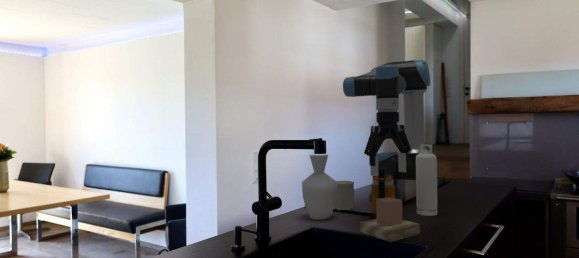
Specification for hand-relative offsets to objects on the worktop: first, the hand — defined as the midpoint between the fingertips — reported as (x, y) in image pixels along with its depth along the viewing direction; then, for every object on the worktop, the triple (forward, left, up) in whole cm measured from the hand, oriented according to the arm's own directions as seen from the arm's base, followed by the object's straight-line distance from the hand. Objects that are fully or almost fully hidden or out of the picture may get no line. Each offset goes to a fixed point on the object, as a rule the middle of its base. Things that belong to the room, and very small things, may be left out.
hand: (388, 173), depth 134 cm
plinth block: (0, 0, -21) cm, 21 cm away
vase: (-32, -5, -20) cm, 38 cm away
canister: (-15, +13, -20) cm, 28 cm away
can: (-38, +13, -20) cm, 45 cm away
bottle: (-10, +33, -20) cm, 40 cm away
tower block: (0, 0, -17) cm, 17 cm away
